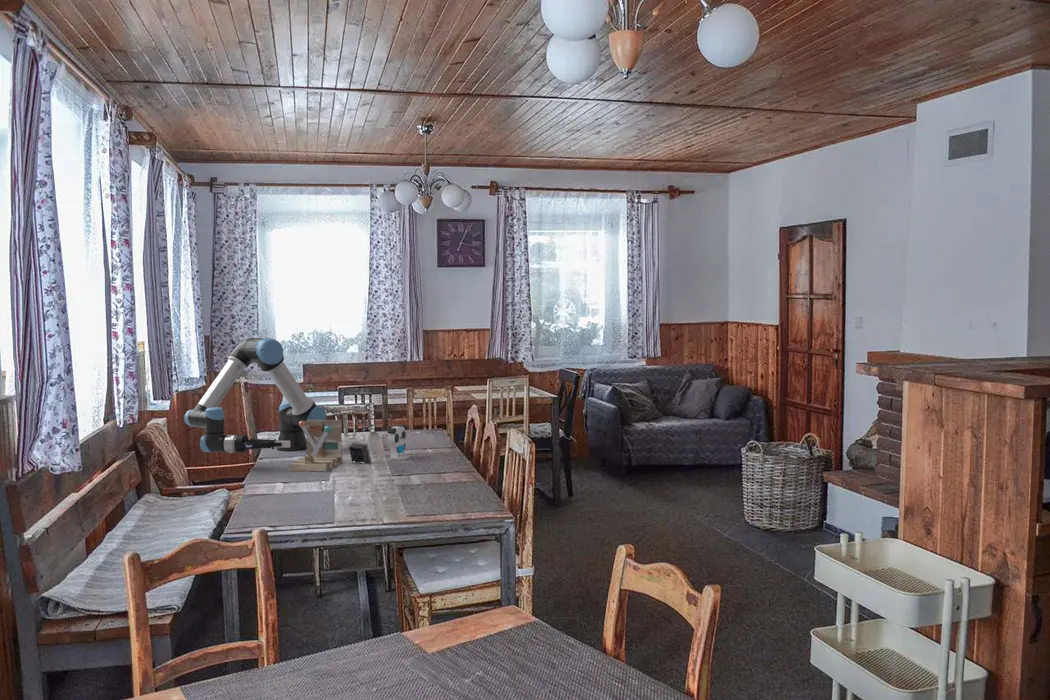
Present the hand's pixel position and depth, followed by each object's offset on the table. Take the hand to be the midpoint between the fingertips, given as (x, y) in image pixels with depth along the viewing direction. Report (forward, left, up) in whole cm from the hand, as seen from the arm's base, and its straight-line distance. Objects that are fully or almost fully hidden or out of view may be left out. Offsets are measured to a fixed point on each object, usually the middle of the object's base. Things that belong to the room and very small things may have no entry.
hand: (289, 444), depth 356 cm
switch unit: (-8, +9, -11) cm, 16 cm away
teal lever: (0, +9, -8) cm, 12 cm away
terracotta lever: (-14, +9, -7) cm, 18 cm away
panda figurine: (-28, +40, -11) cm, 50 cm away
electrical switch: (-17, +26, -11) cm, 33 cm away
